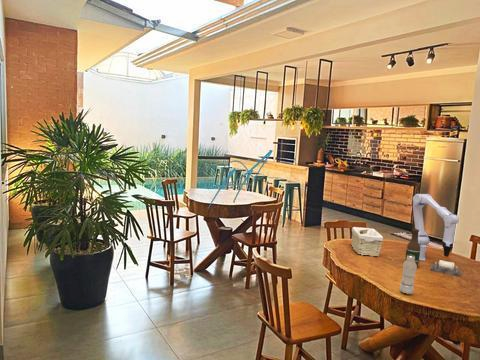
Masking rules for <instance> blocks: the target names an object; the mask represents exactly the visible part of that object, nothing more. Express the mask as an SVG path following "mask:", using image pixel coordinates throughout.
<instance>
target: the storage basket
mask: <svg viewBox="0 0 480 360" xmlns="http://www.w3.org/2000/svg"><path fill="white" fill-rule="evenodd" d="M383 241H384V237H383V236H382V234H380V233H379V232H378V231H377V230H376V229H375V228H369V227H358V226H353V227H352V228H351V245H352V246H351V248H352V247H353V248H352V249H353V250H354V251H355V253H356V252H357V253H358V254H361V255H360V256H363V255H371V256H370V257H373V256H378V257H380V253H381V248H382V244H383ZM357 253H356V254H357ZM358 254H357V255H358Z"/></svg>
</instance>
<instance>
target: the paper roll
mask: <svg viewBox="0 0 480 360" xmlns="http://www.w3.org/2000/svg"><path fill="white" fill-rule="evenodd" d="M437 265H438V266H439V268H444V269H449V270H454V269H455V267H456V265H455V262H452V261H446V260H442V259H441V260H440V259H439V261H438V263H437Z"/></svg>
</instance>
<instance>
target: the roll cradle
mask: <svg viewBox="0 0 480 360" xmlns="http://www.w3.org/2000/svg"><path fill="white" fill-rule="evenodd" d="M430 271H432V272H436V273H442V274H446V275H449V276H450V275H452V276H456V277H462V272H461V269H459V266H458V265H455V267H454V270H449V269H444V268H439V266H438V261H434V264H433V263H431V265H430Z"/></svg>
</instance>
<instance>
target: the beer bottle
mask: <svg viewBox="0 0 480 360" xmlns="http://www.w3.org/2000/svg"><path fill="white" fill-rule="evenodd" d="M418 232H419V230H418V229H415V228H413V229H412V235H411V238H410V242H408V244H407V246H406V249H405V250H406V251H405V260H404V262H405V261H406V260H407V255H414V256H415V260H414V261H415V263H416V265H417V268H418V267H419V263H420V260H419V256H420V245H419V243H418Z"/></svg>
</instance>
